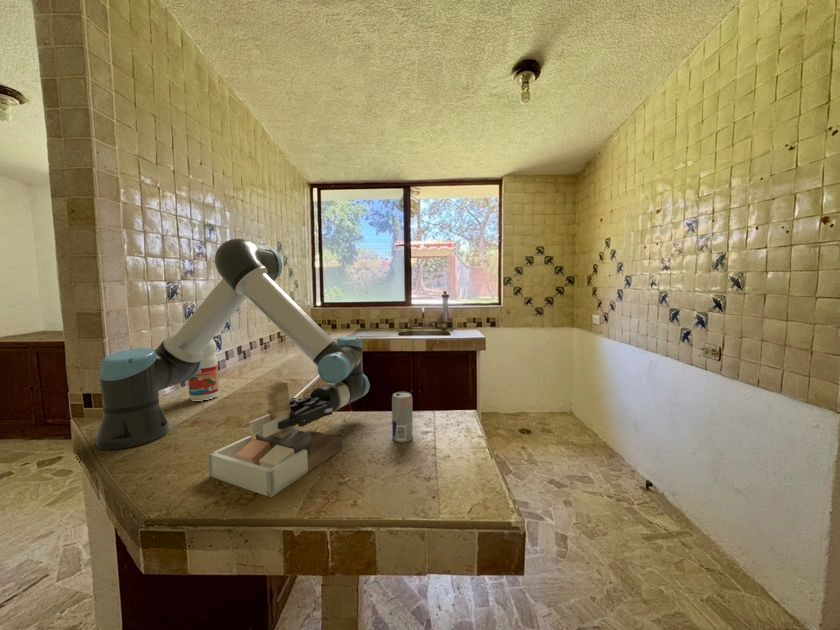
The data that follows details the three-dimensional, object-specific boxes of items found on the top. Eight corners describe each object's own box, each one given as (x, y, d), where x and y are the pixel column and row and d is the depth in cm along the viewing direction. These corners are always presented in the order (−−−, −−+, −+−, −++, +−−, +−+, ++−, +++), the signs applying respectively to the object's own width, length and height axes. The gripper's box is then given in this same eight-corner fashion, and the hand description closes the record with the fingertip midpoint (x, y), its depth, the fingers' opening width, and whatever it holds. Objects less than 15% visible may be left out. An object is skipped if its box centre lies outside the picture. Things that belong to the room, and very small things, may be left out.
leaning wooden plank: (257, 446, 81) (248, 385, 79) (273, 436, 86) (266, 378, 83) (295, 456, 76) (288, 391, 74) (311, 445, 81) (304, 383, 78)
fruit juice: (224, 393, 133) (220, 321, 131) (211, 401, 123) (207, 323, 121) (198, 394, 132) (194, 321, 130) (183, 402, 123) (179, 324, 120)
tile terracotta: (240, 464, 77) (235, 454, 76) (257, 448, 81) (253, 438, 80) (256, 469, 75) (251, 459, 74) (273, 452, 79) (269, 442, 78)
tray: (209, 476, 74) (208, 454, 74) (250, 456, 83) (249, 435, 83) (270, 497, 66) (269, 472, 66) (307, 472, 75) (307, 450, 75)
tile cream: (262, 471, 74) (258, 460, 73) (280, 455, 78) (276, 444, 77) (280, 476, 72) (276, 465, 71) (296, 459, 76) (293, 448, 75)
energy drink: (399, 432, 96) (399, 390, 95) (416, 437, 93) (416, 393, 92) (388, 440, 91) (387, 395, 90) (405, 444, 88) (405, 399, 88)
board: (250, 456, 83) (249, 443, 83) (288, 436, 94) (287, 425, 94) (307, 472, 75) (307, 458, 75) (342, 449, 86) (341, 437, 86)
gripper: (354, 415, 92) (286, 454, 71) (306, 407, 99) (232, 439, 78) (353, 388, 91) (285, 418, 70) (306, 381, 98) (230, 407, 77)
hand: (257, 429), depth 74 cm, fingers closed on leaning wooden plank, 3 cm apart
